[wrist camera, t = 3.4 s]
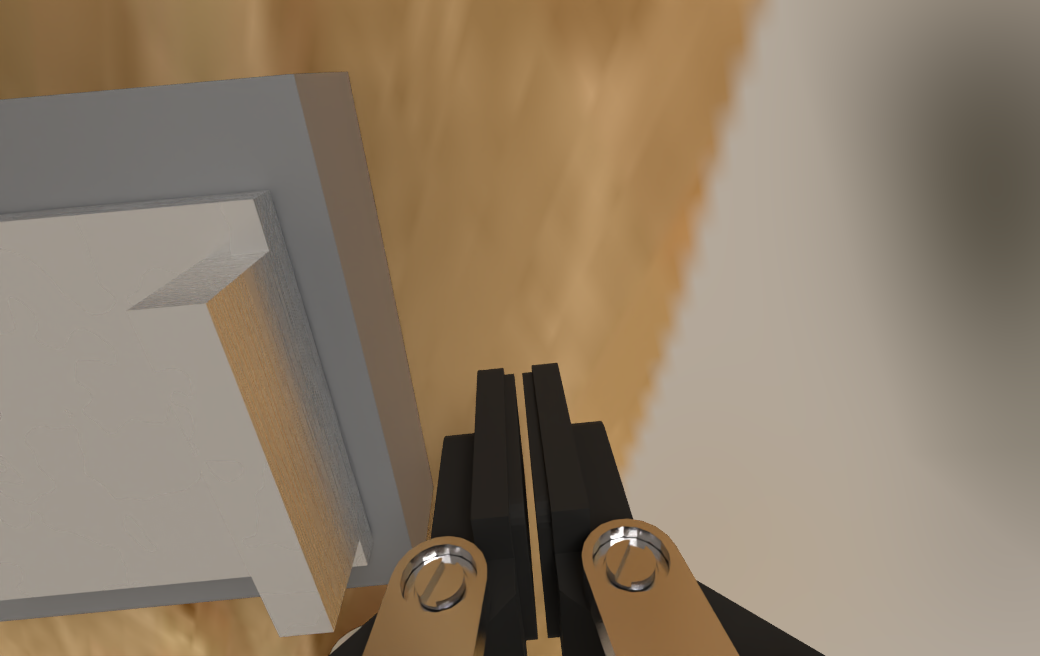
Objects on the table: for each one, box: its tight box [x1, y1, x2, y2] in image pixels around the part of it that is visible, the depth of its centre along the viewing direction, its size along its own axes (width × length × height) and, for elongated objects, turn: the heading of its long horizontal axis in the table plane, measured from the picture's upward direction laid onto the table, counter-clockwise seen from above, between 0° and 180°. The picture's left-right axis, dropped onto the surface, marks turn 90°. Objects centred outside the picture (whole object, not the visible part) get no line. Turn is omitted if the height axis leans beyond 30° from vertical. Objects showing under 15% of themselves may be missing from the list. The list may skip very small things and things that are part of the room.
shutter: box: [0, 190, 374, 637], centre depth 11 cm, size 10×10×3 cm
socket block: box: [0, 72, 433, 621], centre depth 14 cm, size 14×20×4 cm
